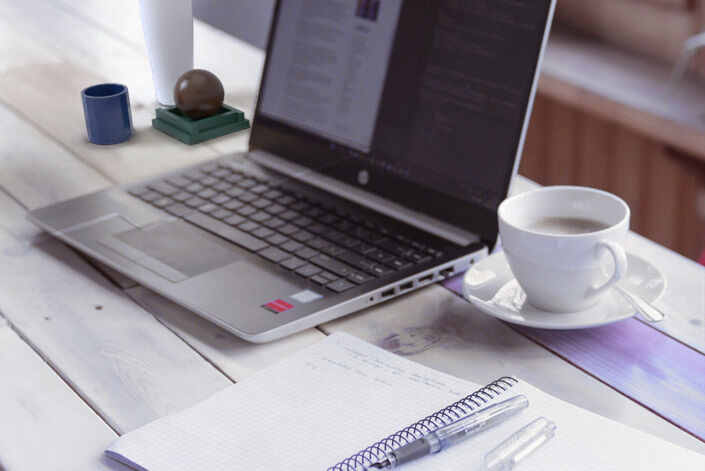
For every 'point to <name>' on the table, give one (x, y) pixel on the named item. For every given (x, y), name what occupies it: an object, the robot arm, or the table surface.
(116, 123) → the cup
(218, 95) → the ball
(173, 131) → the tray
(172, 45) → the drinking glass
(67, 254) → the table surface
